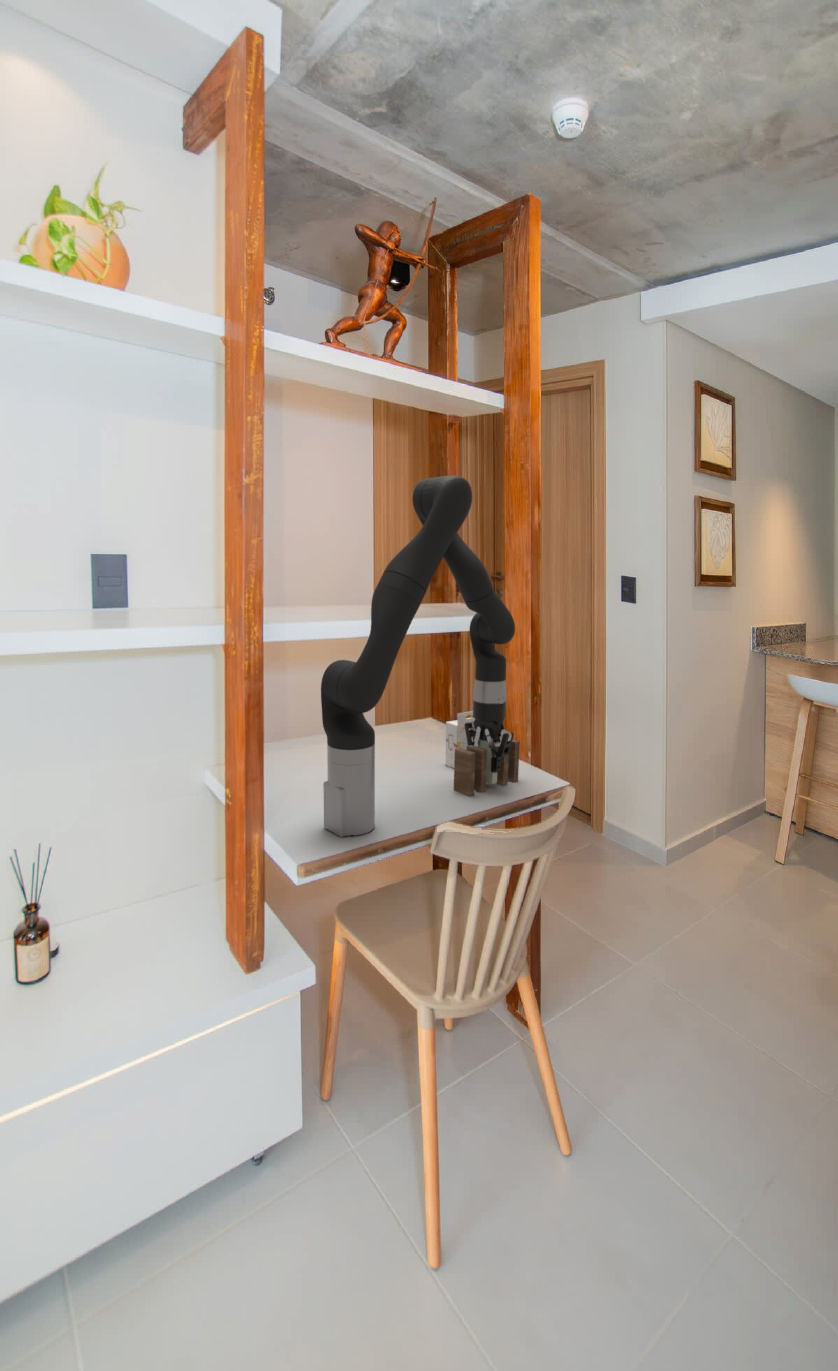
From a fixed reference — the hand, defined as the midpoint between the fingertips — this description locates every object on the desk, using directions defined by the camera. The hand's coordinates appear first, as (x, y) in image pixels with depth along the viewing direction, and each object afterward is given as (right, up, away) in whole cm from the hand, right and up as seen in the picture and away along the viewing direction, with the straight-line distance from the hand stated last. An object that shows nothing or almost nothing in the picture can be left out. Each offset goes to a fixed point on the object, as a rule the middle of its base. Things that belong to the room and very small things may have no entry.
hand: (487, 768), depth 156 cm
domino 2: (-3, -4, -2) cm, 6 cm away
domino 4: (+6, -3, +6) cm, 9 cm away
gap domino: (0, -3, +1) cm, 3 cm away
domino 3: (+3, -4, +3) cm, 6 cm away
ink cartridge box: (-5, -1, +16) cm, 17 cm away
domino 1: (-6, -5, -4) cm, 9 cm away
